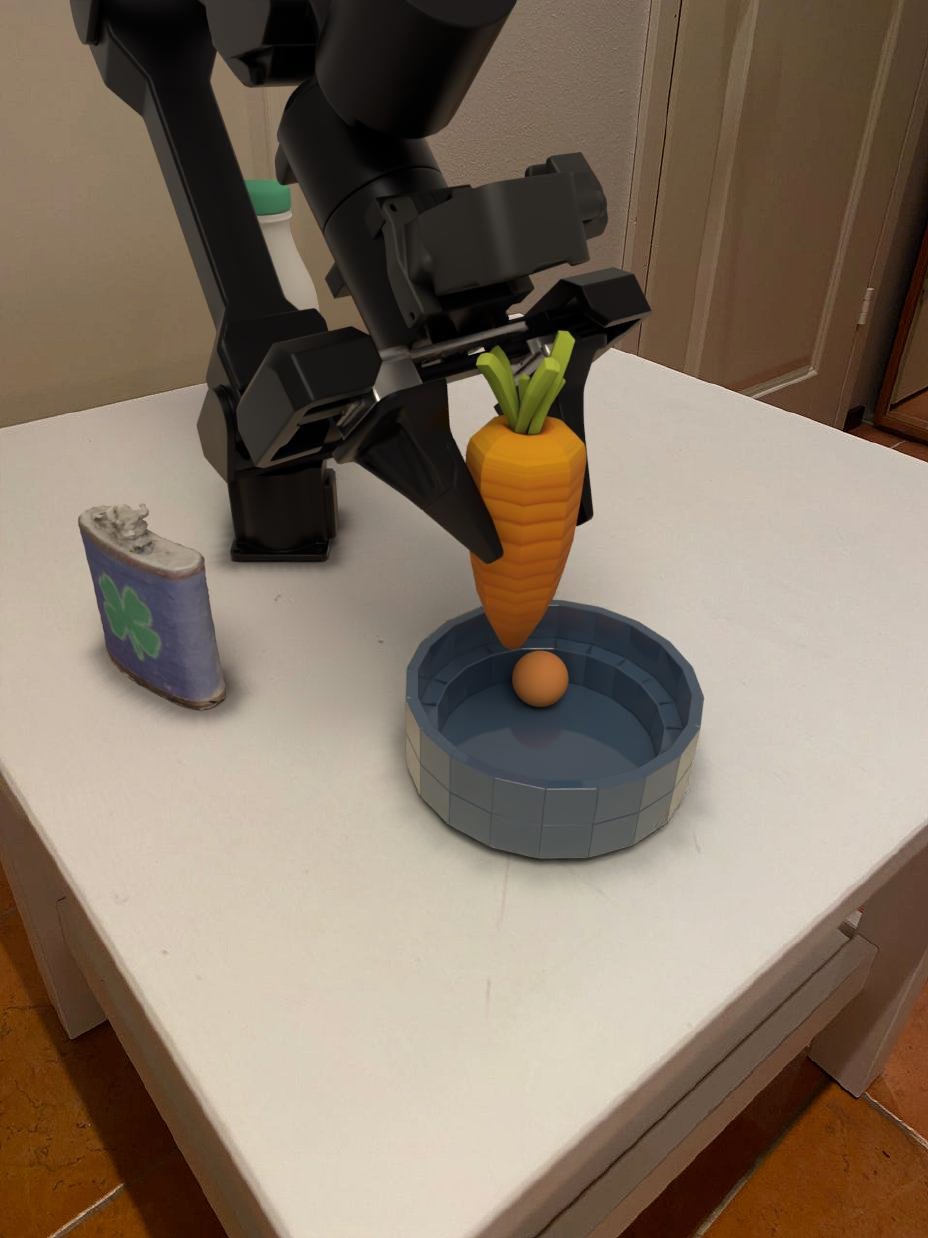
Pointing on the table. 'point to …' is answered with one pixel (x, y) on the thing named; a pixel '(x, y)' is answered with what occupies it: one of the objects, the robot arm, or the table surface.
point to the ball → (540, 678)
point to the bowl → (553, 733)
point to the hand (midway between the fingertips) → (541, 541)
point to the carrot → (526, 491)
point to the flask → (153, 606)
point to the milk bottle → (282, 241)
